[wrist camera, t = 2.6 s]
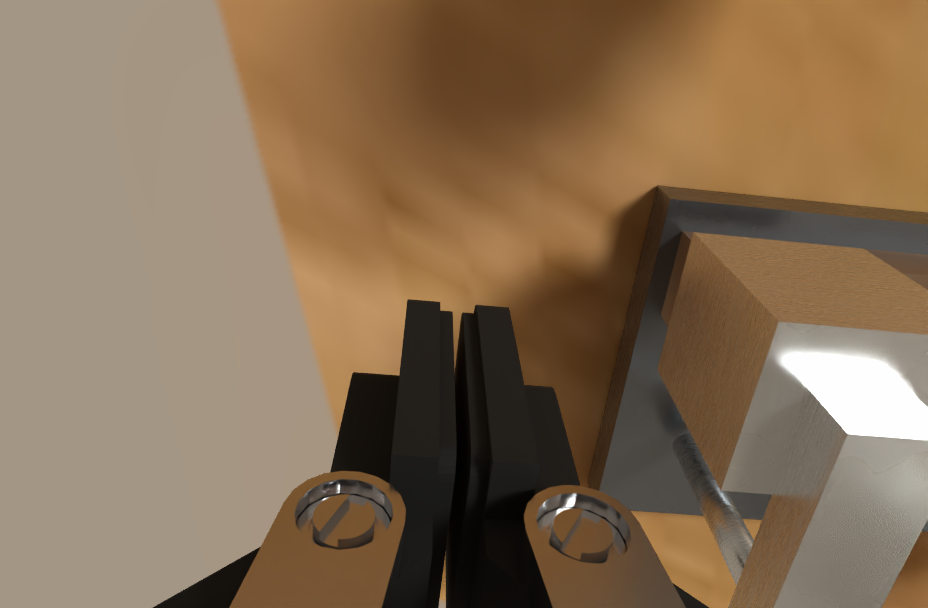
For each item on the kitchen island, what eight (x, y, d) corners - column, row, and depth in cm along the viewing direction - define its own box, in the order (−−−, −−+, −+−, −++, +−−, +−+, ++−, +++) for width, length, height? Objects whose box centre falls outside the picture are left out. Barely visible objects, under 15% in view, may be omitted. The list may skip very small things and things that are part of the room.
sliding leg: (748, 463, 20) (887, 690, 13) (614, 453, 20) (692, 680, 13) (832, 228, 17) (1065, 379, 10) (674, 212, 16) (814, 358, 10)
